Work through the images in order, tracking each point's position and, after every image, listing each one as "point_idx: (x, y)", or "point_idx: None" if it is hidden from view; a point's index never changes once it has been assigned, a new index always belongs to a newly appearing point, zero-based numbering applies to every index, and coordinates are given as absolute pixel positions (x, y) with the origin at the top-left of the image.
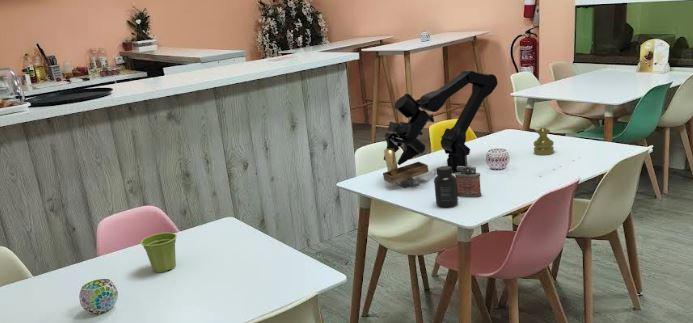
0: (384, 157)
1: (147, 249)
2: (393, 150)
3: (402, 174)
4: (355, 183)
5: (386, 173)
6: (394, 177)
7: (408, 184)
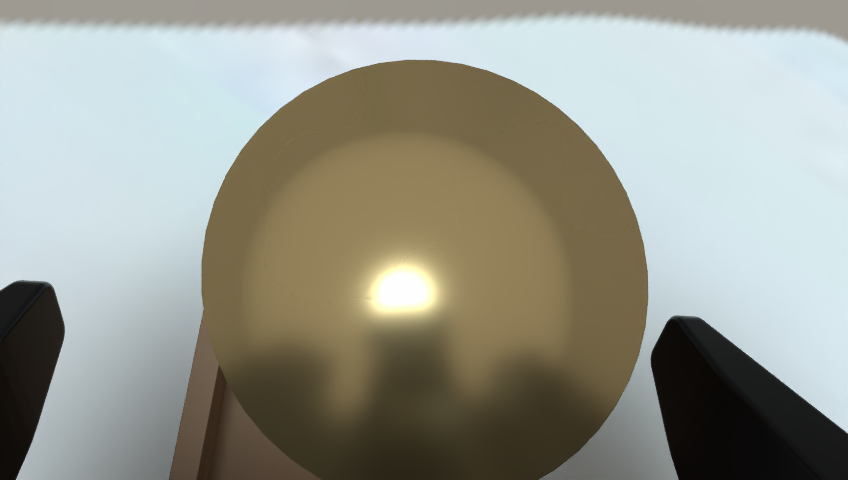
0: (700, 335)
1: None
2: (226, 367)
3: (186, 409)
4: (820, 127)
5: None
6: None
7: None
